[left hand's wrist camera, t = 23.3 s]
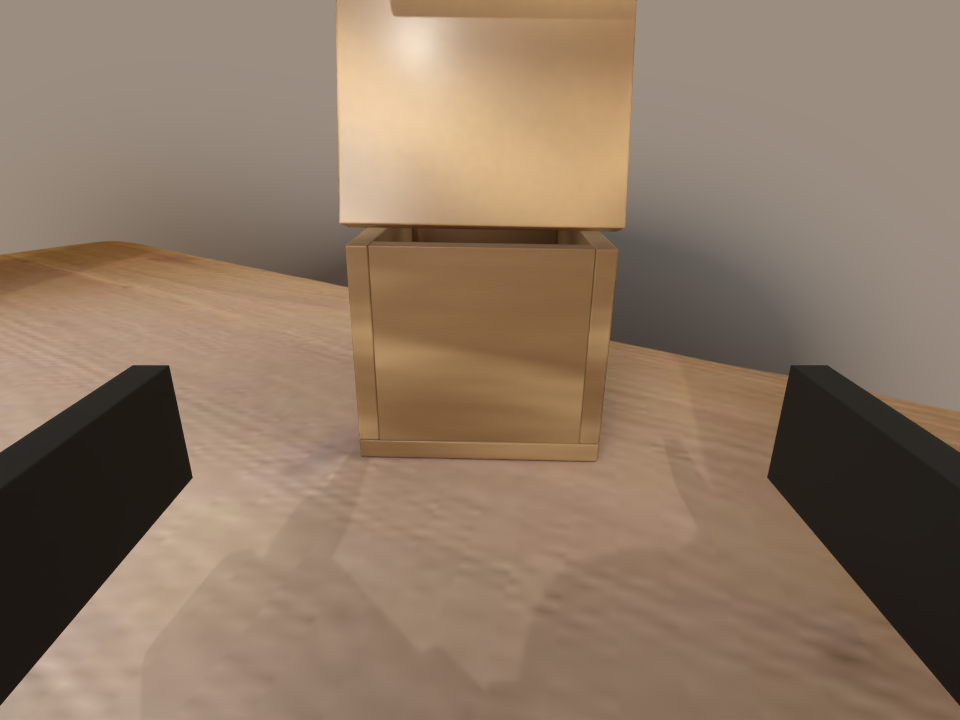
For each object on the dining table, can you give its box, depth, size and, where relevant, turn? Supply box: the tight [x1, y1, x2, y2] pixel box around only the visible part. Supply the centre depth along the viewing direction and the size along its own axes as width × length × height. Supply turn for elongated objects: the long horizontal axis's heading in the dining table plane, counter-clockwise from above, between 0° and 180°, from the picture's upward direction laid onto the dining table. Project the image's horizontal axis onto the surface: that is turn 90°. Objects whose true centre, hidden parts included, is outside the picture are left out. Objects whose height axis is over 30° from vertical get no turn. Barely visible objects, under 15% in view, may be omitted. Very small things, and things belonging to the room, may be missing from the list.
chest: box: [346, 228, 619, 461], centre depth 29 cm, size 13×10×9 cm
